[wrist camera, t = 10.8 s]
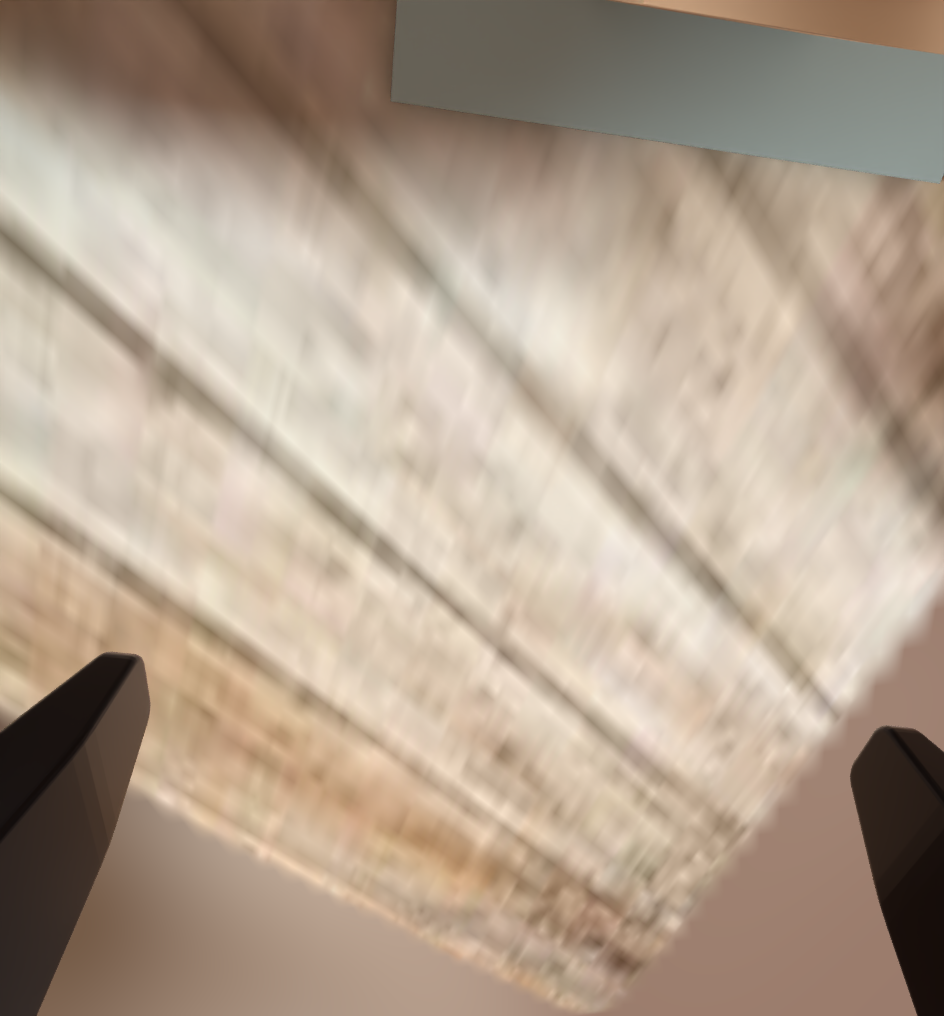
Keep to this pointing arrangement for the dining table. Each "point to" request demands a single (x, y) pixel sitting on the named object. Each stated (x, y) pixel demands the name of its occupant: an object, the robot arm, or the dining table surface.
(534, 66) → the mat
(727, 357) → the dining table surface
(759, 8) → the labelled block
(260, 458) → the dining table surface
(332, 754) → the dining table surface
